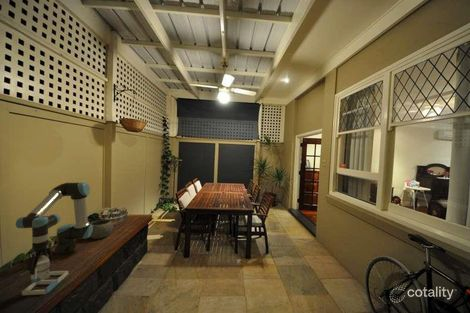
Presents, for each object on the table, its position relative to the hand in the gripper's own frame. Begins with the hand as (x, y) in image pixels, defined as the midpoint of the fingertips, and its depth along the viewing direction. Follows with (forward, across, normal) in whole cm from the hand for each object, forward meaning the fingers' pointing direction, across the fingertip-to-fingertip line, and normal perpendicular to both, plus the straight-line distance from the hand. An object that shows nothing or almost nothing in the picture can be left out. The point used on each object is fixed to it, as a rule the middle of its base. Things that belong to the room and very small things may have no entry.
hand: (40, 273), depth 130 cm
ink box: (+4, 0, 0) cm, 4 cm away
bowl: (+10, -81, -6) cm, 82 cm away
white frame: (+10, -5, 0) cm, 12 cm away
